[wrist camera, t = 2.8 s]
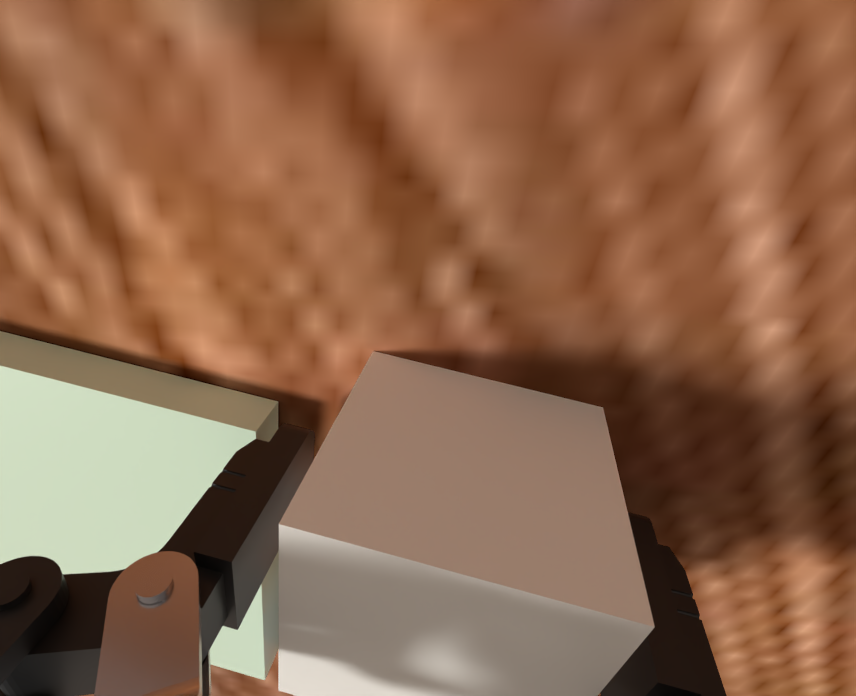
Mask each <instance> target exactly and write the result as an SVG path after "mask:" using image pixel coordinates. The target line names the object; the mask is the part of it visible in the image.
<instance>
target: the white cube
mask: <svg viewBox="0 0 856 696" xmlns="http://www.w3.org/2000/svg"><path fill="white" fill-rule="evenodd" d="M654 627H655V626H654V622H653V617H652V613H651V609H650V605H649V600H648V596H647V592H646V588H645V583H644V579H643V575H642V571H641V567H640V562H639V558H638V554H637V550H636V545H635V541H634V537H633V533H632V528H631V524H630V520H629V516H628V511H627V507H626V503H625V499H624V495H623V490H622V486H621V482H620V478H619V473H618V469H617V465H616V461H615V456H614V452H613V448H612V444H611V439H610V435H609V431H608V427H607V423H606V418H605V414H604V410H603V407H599V406H595V405H591V404H587V403H583V402H579V401H575V400H571V399H567V398H563V397H559V396H554V395H550V394H546V393H542V392H538V391H534V390H530V389H526V388H522V387H518V386H514V385H510V384H506V383H502V382H497V381H493V380H489V379H485V378H481V377H477V376H473V375H469V374H465V373H461V372H457V371H453V370H449V369H445V368H441V367H436V366H432V365H428V364H424V363H420V362H416V361H412V360H408V359H404V358H400V357H396V356H392V355H388V354H384V353H379V352H375V351H373V352H372V354H371V356H370V358H369V359H368V361H367V363H366V365H365V367H364V369H363V370H362V372H361V374H360V376H359V378H358V380H357V381H356V383H355V385H354V387H353V389H352V391H351V392H350V394H349V396H348V398H347V400H346V402H345V403H344V405H343V407H342V409H341V411H340V413H339V414H338V416H337V418H336V420H335V422H334V424H333V425H332V427H331V429H330V431H329V433H328V435H327V436H326V438H325V440H324V442H323V444H322V446H321V447H320V449H319V451H318V453H317V455H316V457H315V458H314V460H313V462H312V464H311V466H310V468H309V469H308V471H307V473H306V475H305V477H304V479H303V480H302V482H301V484H300V486H299V488H298V490H297V491H296V493H295V495H294V497H293V499H292V501H291V502H290V504H289V506H288V508H287V510H286V512H285V513H284V515H283V517H282V519H281V521H280V523H279V691H282V692H286V693H289V694H292V695H296V696H598V695H599V693H600V692H601V691H602V690H603V689H604V687H605V686H606V685H607V684H608V683H609V681H610V680H611V679H612V678H613V677H614V675H615V674H616V673H617V672H618V671H619V669H620V668H621V667H622V666H623V665H624V663H625V662H626V661H627V660H628V659H629V657H630V656H631V655H632V654H633V653H634V651H635V650H636V649H637V648H638V647H639V645H640V644H641V643H642V642H643V641H644V639H645V638H646V637H647V636H648V635H649V633H650V632H651V631H652V630H653V629H654Z"/></svg>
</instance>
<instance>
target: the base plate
mask: <svg viewBox="0 0 856 696" xmlns="http://www.w3.org/2000/svg"><path fill="white" fill-rule="evenodd" d="M277 430H278V401H274V400H270V399H266V398H263V397H259V396H255V395H251V394H247V393H243V392H239V391H235V390H231V389H227V388H223V387H219V386H215V385H211V384H207V383H203V382H199V381H195V380H192V379H188V378H184V377H180V376H176V375H172V374H168V373H164V372H160V371H156V370H152V369H148V368H144V367H140V366H136V365H132V364H128V363H124V362H121V361H117V360H113V359H109V358H105V357H101V356H97V355H93V354H89V353H85V352H81V351H77V350H73V349H69V348H65V347H61V346H57V345H53V344H50V343H46V342H42V341H38V340H34V339H30V338H26V337H22V336H18V335H14V334H10V333H6V332H2V331H0V564H2V563H5V562H7V561H10V560H13V559H16V558H21V557H26V556H42V557H47V558H49V559H52V560H53V561H55V562H56V563H57V564H58V566H59V567H60V569H61V571H62V574H77V573H95V572H111V571H118V570H123V569H126V568H127V567H128V566H130V565H131V564H132V563H134V562H135V561H137V560H139V559H141V558H143V557H145V556H147V555H150V554H153V553H157V552H158V551H159V550H160V549H161V548H163V547H164V545H165V544H166V543H167V542H168V541H169V539H170V538H171V537H172V535H173V534H174V533H175V531H176V530H177V529H178V528H179V526H180V525H181V524H182V522H183V521H184V520H185V518H186V517H187V516H188V514H189V513H190V512H191V510H192V509H193V508H194V506H195V505H196V504H197V503H198V501H199V500H200V499H201V497H202V496H203V495H204V493H205V492H206V491H207V489H208V488H209V487H211V486H212V483H213V481H214V480H215V479H216V478H217V476H218V475H219V474H220V472H221V473H222V471H223V468H224V467H225V466H226V464H227V463H228V462H229V460H230V459H231V458H232V456H233V455H234V454H235V453H236V451H238V450H239V449H241V448H242V447H244V446H246V445H247V444H249V443H250V442H252V441H253V440H255V439H259V440H263V441H267V442H269V441H270V440H271V439H272V437H273V436H274V434H275V433H276V431H277ZM278 649H279V551H278V553H277V555H276V556H275V558H274V560H273V562H272V564H271V566H270V568H269V570H268V572H267V574H266V576H265V578H264V580H263V582H262V584H261V586H260V588H259V590H258V592H257V594H256V595H255V597H254V599H253V601H252V603H251V605H250V607H249V609H248V611H247V613H246V615H245V617H244V619H243V621H242V623H241V625H240V627H239V629H238V630H236V629H232V628H229V627H225V626H222V628H221V630H220V632H219V633H218V635H217V637H216V639H215V641H214V643H213V644H212V646H211V648H210V664H211V665H215V666H218V667H222V668H225V669H228V670H232V671H235V672H239V673H242V674H245V675H249V676H252V677H256V678H259V679H263V680H265V679H266V677H267V675H268V672H269V670H270V668H271V665H272V663H273V660H274V658H275V656H276V653H277V651H278Z"/></svg>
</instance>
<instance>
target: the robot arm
mask: <svg viewBox="0 0 856 696" xmlns="http://www.w3.org/2000/svg"><path fill="white" fill-rule="evenodd" d="M314 441H315V433H314V431H313V430H310V429H306V428H302V427H298V426H294V425H290V424H286V423H283V424H282V425H281V426H280V427H279V428H278V430H277V431H276V433H275V434H274V436H273V437H272V439H271V440H270V441H269V442H267V441H263V440H259V439H255V440H253V441H252V442H250V443H249V444H247V445H246V446H244V447H242V448H241V449H239V450H238V451H236V453H235V454H234V455H233V456H232V458H231V459H230V460H229V462H228V463H227V464H226V466H225V467H224V468H223V471H222V473H221V472H220V474H219V475H218V476H217V478H216V479H215V480H214V481H213V483H212V486H211V487H209V488H208V489H207V491H206V492H205V493H204V495H203V496H202V497H201V499H200V500H199V501H198V503H197V504H196V505H195V506H194V508H193V509H192V510H191V512H190V513H189V514H188V516H187V517H186V518H185V520H184V521H183V522H182V524H181V525H180V526H179V528H178V529H177V530H176V531H175V533H174V534H173V535H172V537H171V538H170V539H169V541H168V542H167V543H166V544H165V545H164V547H163V548H161V549H160V550H159V551H158V552H157V553H153V554H150V555H147V556H145V557H143V558H141V559H139V560H137V561H135V562H134V563H132V564H131V565H130V566H128V567H127V568H126V569H123V570H118V571H111V572H95V573H77V574H62V571H61V569H60V567H59V566H58V564H57V563H56V562H55V561H53V560H52V559H49V558H47V557H42V556H26V557H21V558H16V559H13V560H10V561H7V562H5V563H2V564H0V696H79V695H88V694H94V696H211V669H210V648H211V646H212V644H213V643H214V641H215V639H216V637H217V635H218V633H219V632H220V630H221V628H222V626H225V627H229V628H232V629H236V630H238V629H239V627H240V625H241V623H242V621H243V619H244V617H245V615H246V613H247V611H248V609H249V607H250V605H251V603H252V601H253V599H254V597H255V595H256V594H257V592H258V590H259V588H260V586H261V584H262V582H263V580H264V578H265V576H266V574H267V572H268V570H269V568H270V566H271V564H272V562H273V560H274V558H275V556H276V555H277V553H278V551H279V523H280V521H281V519H282V517H283V515H284V513H285V512H286V510H287V508H288V506H289V504H290V502H291V501H292V499H293V497H294V495H295V493H296V491H297V490H298V488H299V486H300V484H301V482H302V480H303V479H304V477H305V475H306V473H307V471H308V469H309V468H310V466H311V464H312V462H313V459H314ZM628 516H629V520H630V524H631V528H632V533H633V537H634V541H635V545H636V550H637V554H638V558H639V562H640V567H641V571H642V575H643V579H644V583H645V588H646V592H647V596H648V600H649V605H650V609H651V613H652V617H653V622H654V626H655V627H654V629H653V630H652V631H651V632H650V633H649V635H648V636H647V637H646V638H645V639H644V641H643V642H642V643H641V644H640V645H639V647H638V648H637V649H636V650H635V651H634V653H633V654H632V655H631V656H630V657H629V659H628V660H627V661H626V662H625V663H624V665H623V666H622V667H621V668H620V669H619V671H618V672H617V673H616V674H615V675H614V677H613V678H612V679H611V680H610V681H609V683H608V684H607V685H606V686H605V687H604V689H603V690H602V691H601V692H600V693H601V696H726V693H725V690H724V687H723V684H722V681H721V678H720V675H719V672H718V669H717V666H716V663H715V660H714V657H713V654H712V651H711V648H710V645H709V642H708V639H707V636H706V633H705V629H704V626H703V623H702V620H700V619H699V615H700V614H699V611H698V608H697V605H696V602H695V600H694V599H693V598H692V596H693V593H692V590H691V587H690V584H689V581H688V578H687V575H686V572H685V570H684V568H683V567H682V565H681V564H680V562H679V561H678V560H677V558H676V557H675V555H674V554H673V552H672V551H671V549H670V548H669V547H667V546H663V545H659V544H658V543H657V539H656V536H655V532H654V529H653V526H652V523H651V521H650V519H649V518H647V517H645V516H641V515H637V514H633V513H629V512H628Z"/></svg>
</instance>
